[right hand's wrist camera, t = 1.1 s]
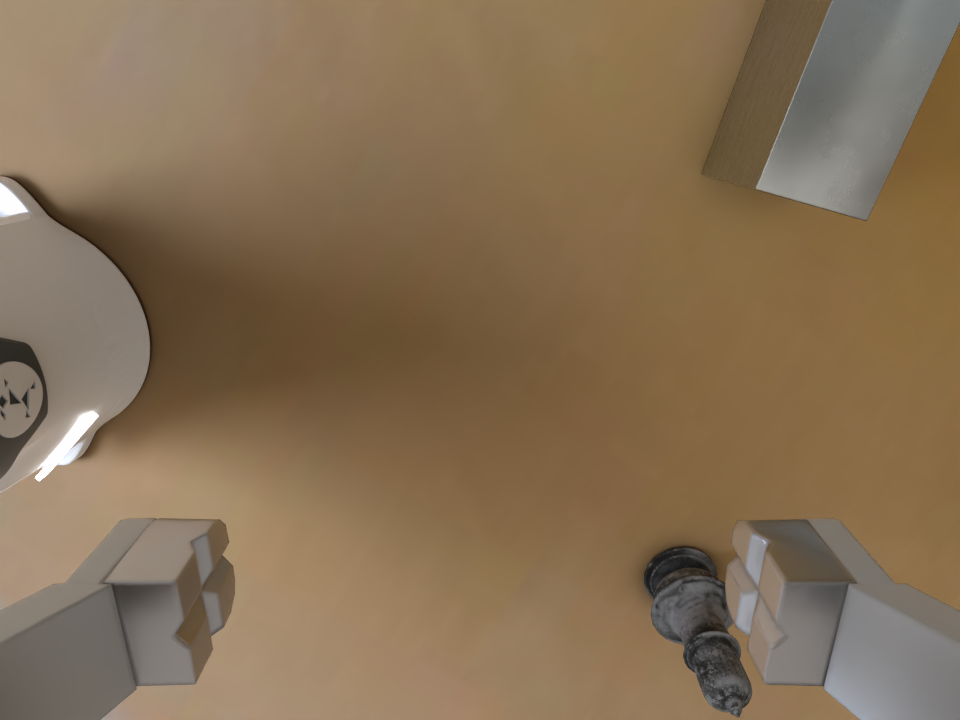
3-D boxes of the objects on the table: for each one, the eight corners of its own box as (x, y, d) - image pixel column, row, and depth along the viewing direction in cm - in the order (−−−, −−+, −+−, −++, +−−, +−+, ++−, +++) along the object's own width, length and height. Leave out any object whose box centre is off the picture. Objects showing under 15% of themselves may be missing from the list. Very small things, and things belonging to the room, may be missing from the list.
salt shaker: (677, 529, 47) (737, 660, 36) (737, 570, 48) (813, 708, 37) (623, 584, 49) (664, 724, 38) (682, 621, 50) (739, 769, 39)
